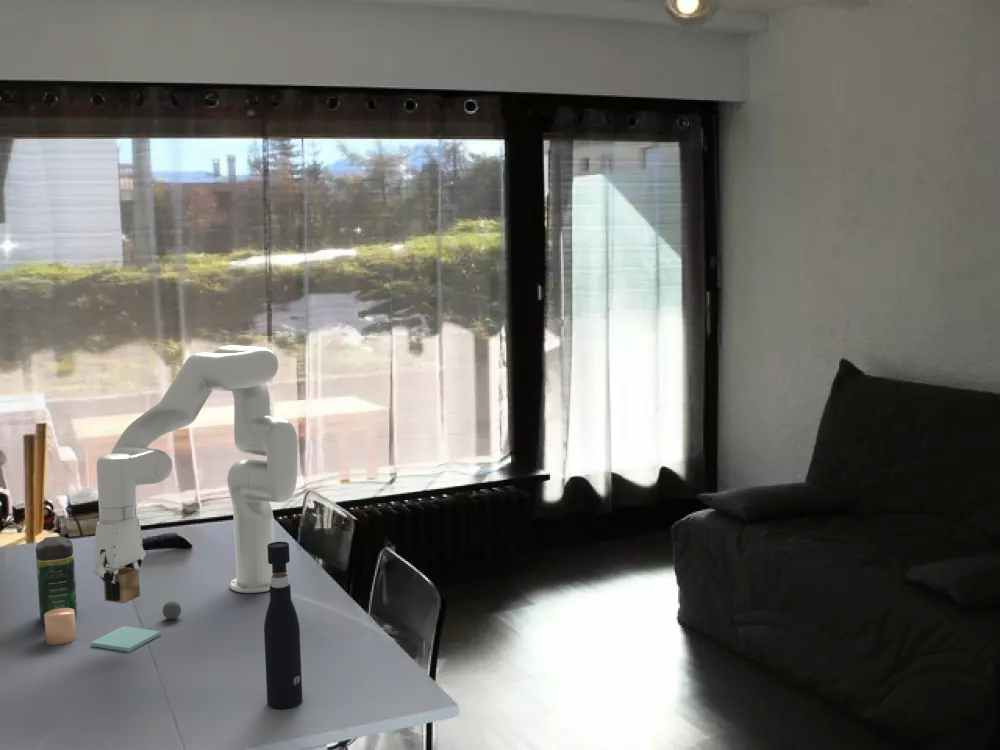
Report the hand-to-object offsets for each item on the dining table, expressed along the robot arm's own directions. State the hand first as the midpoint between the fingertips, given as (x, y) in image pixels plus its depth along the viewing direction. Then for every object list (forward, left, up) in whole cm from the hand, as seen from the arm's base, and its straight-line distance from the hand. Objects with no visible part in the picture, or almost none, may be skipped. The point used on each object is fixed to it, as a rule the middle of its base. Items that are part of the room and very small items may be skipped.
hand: (122, 595), depth 225 cm
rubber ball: (-14, +1, -8) cm, 17 cm away
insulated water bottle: (+15, +49, -10) cm, 52 cm away
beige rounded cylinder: (+4, -14, -10) cm, 18 cm away
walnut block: (0, 0, -1) cm, 1 cm away
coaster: (0, 0, -10) cm, 10 cm away
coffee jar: (-6, -24, -10) cm, 27 cm away
